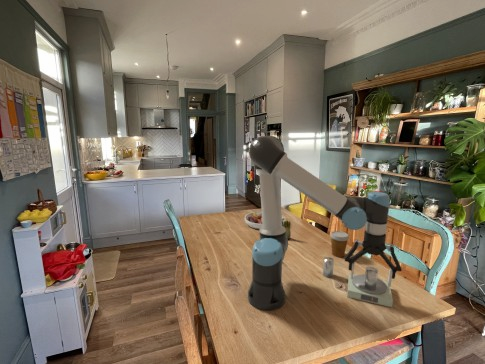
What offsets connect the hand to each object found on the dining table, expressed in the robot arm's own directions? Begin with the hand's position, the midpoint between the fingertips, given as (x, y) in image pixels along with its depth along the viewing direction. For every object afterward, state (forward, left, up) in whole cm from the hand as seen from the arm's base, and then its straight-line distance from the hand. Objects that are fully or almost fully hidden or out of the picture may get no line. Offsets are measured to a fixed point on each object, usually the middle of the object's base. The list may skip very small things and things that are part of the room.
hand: (370, 281), depth 105 cm
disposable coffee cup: (+34, +14, -7) cm, 37 cm away
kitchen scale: (+3, 0, -7) cm, 7 cm away
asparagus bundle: (+44, +46, -7) cm, 64 cm away
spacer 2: (0, 0, -3) cm, 3 cm away
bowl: (+65, +67, -7) cm, 93 cm away
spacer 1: (+10, +17, -7) cm, 21 cm away
